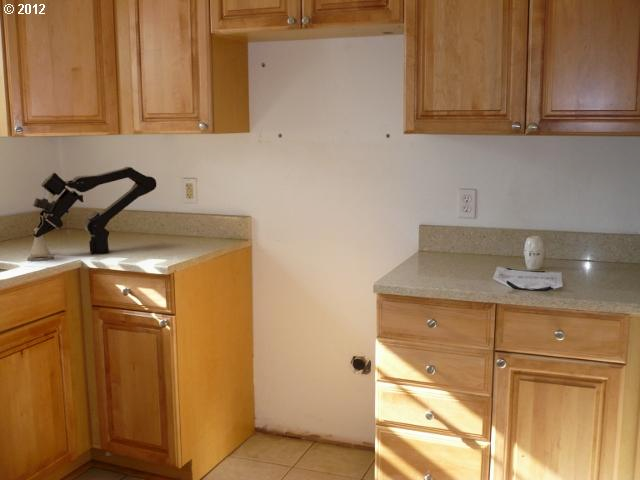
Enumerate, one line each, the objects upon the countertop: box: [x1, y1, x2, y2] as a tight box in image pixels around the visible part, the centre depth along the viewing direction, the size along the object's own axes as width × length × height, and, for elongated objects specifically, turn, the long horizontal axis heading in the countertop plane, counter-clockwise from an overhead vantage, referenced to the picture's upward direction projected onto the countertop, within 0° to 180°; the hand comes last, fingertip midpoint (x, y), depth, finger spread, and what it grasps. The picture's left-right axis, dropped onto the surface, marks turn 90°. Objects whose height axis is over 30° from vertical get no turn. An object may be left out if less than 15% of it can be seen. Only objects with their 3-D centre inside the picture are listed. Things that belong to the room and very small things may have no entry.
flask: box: [29, 227, 51, 256], centre depth 262 cm, size 7×7×10 cm
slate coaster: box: [26, 254, 54, 262], centre depth 263 cm, size 9×9×1 cm
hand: (34, 236), depth 261 cm, fingers closed on flask, 3 cm apart
